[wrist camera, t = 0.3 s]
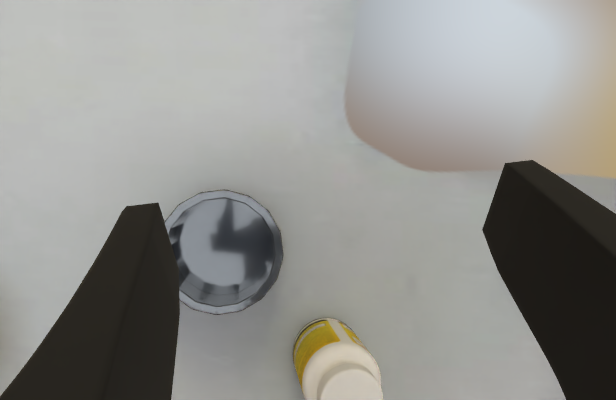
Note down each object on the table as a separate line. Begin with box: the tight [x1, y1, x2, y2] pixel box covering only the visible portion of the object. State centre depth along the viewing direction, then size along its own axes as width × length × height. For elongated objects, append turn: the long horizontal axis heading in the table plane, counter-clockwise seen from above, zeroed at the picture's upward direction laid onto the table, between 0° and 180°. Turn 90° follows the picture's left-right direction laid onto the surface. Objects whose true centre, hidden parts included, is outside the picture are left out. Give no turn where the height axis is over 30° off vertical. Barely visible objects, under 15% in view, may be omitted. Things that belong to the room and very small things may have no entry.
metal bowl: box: [164, 190, 283, 315], centre depth 36 cm, size 9×9×4 cm
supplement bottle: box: [293, 318, 383, 400], centre depth 34 cm, size 5×5×10 cm
